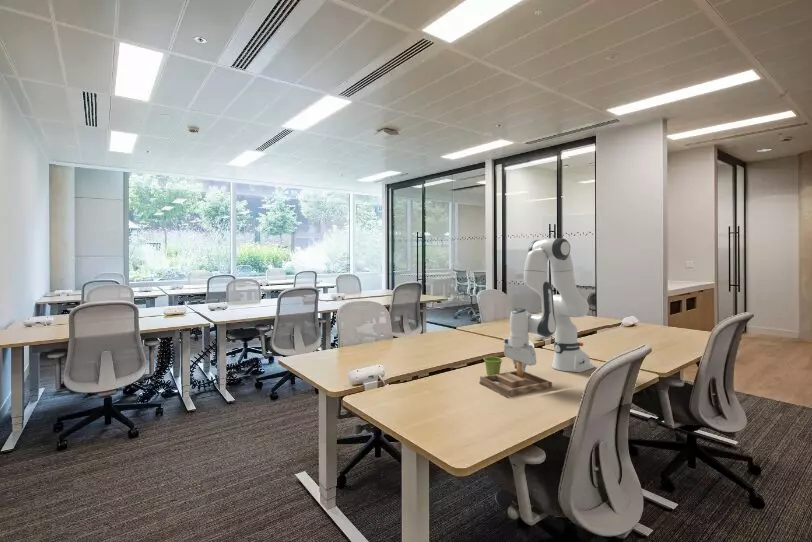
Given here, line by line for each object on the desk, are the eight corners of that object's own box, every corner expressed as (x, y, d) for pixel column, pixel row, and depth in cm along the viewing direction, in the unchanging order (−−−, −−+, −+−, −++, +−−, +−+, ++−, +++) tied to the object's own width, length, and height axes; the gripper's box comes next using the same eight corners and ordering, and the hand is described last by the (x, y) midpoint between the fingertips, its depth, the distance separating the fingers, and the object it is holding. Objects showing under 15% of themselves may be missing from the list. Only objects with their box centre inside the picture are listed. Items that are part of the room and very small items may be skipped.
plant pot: (501, 373, 208) (501, 356, 208) (503, 378, 199) (503, 361, 199) (483, 372, 209) (482, 356, 209) (484, 378, 200) (484, 361, 200)
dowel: (520, 376, 198) (520, 360, 198) (524, 377, 195) (524, 361, 195) (515, 377, 197) (515, 361, 196) (519, 378, 194) (519, 362, 194)
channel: (521, 376, 203) (521, 369, 202) (552, 389, 182) (552, 382, 182) (479, 383, 193) (479, 376, 193) (507, 398, 173) (507, 390, 172)
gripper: (539, 345, 187) (539, 374, 187) (511, 337, 206) (512, 363, 206) (528, 347, 184) (529, 376, 185) (501, 338, 203) (502, 365, 204)
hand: (519, 369), depth 196 cm, fingers closed on dowel, 3 cm apart
